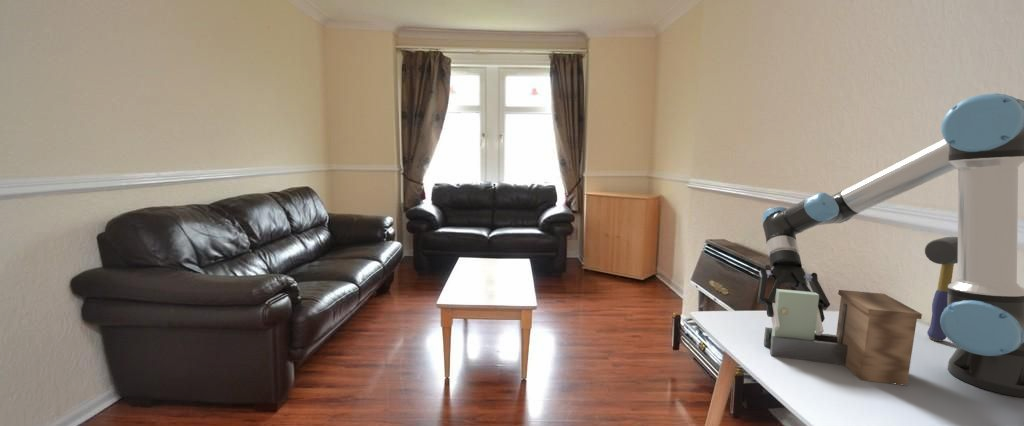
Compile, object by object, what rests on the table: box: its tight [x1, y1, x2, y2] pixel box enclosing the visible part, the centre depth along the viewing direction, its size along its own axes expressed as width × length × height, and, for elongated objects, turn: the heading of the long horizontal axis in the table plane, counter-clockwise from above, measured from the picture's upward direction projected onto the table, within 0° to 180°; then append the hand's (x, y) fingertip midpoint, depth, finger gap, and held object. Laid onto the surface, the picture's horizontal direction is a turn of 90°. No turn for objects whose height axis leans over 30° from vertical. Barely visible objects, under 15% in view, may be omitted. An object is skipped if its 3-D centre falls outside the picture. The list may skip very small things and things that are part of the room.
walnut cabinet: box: [835, 289, 923, 386], centre depth 106 cm, size 10×15×17 cm, turn 165°
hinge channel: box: [763, 327, 848, 366], centre depth 114 cm, size 16×7×5 cm, turn 75°
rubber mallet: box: [924, 236, 958, 342], centre depth 124 cm, size 12×8×30 cm, turn 115°
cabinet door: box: [771, 288, 819, 340], centre depth 114 cm, size 9×3×15 cm, turn 75°
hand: (798, 330), depth 111 cm, fingers closed on cabinet door, 9 cm apart
